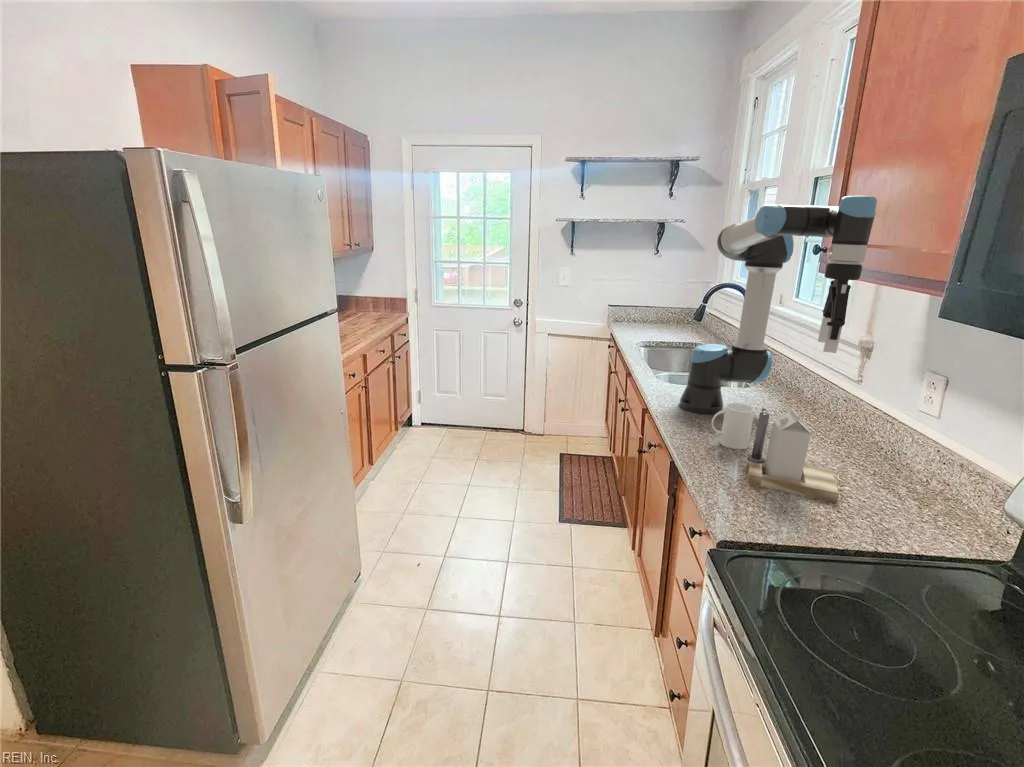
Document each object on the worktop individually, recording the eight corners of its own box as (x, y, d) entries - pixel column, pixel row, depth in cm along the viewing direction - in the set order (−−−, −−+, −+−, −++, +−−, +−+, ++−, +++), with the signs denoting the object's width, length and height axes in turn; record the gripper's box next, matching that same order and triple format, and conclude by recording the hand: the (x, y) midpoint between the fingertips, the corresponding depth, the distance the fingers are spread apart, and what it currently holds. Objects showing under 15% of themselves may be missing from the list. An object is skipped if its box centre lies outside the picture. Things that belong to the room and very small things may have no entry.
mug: (710, 446, 154) (716, 409, 151) (705, 435, 162) (711, 400, 159) (751, 451, 152) (758, 413, 149) (745, 440, 160) (751, 404, 157)
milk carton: (791, 475, 138) (806, 409, 132) (799, 487, 131) (814, 418, 126) (763, 471, 139) (776, 406, 134) (769, 483, 133) (783, 415, 127)
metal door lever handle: (746, 459, 146) (755, 407, 142) (762, 462, 145) (773, 409, 140) (745, 469, 140) (755, 415, 135) (763, 472, 138) (773, 418, 134)
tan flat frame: (748, 462, 144) (750, 454, 144) (829, 478, 137) (831, 470, 136) (747, 483, 132) (749, 474, 132) (836, 502, 124) (838, 493, 124)
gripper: (822, 259, 138) (806, 336, 144) (833, 264, 116) (814, 354, 122) (854, 261, 135) (836, 339, 141) (873, 266, 113) (850, 359, 119)
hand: (826, 347), depth 132 cm, fingers open, 13 cm apart
